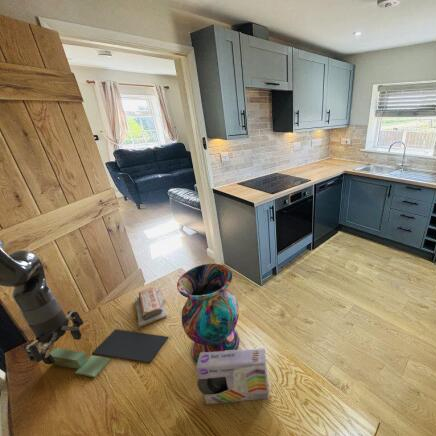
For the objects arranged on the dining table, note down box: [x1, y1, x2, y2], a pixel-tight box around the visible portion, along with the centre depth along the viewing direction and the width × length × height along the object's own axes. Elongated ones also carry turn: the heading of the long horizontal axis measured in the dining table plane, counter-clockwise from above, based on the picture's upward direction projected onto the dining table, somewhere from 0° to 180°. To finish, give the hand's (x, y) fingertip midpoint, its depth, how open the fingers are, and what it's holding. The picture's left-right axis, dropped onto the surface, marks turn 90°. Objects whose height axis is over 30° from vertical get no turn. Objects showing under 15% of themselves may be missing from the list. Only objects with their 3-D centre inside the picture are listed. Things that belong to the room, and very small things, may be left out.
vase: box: [176, 263, 240, 363], centre depth 80 cm, size 18×18×30 cm
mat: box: [91, 328, 169, 364], centre depth 86 cm, size 22×10×1 cm, turn 82°
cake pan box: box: [195, 347, 269, 405], centre depth 68 cm, size 19×5×18 cm, turn 94°
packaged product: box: [134, 287, 168, 328], centre depth 101 cm, size 18×5×10 cm
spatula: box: [50, 347, 111, 378], centre depth 78 cm, size 18×6×4 cm, turn 82°
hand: (65, 350), depth 77 cm, fingers open, 8 cm apart
